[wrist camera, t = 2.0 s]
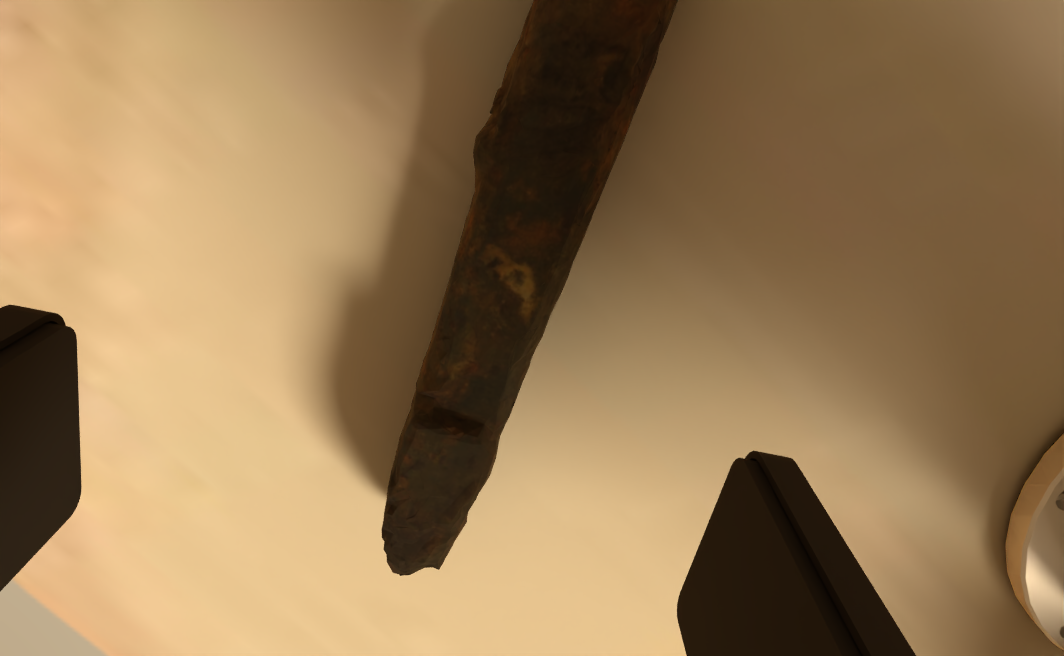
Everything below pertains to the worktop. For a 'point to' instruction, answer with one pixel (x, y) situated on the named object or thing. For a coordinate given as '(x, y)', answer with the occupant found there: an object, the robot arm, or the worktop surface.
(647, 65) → the hand tool
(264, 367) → the worktop surface
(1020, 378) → the worktop surface
